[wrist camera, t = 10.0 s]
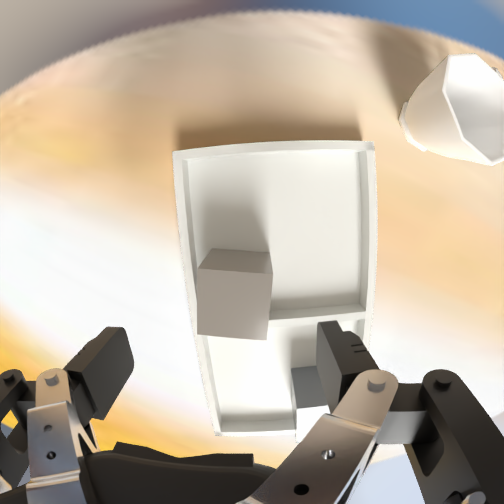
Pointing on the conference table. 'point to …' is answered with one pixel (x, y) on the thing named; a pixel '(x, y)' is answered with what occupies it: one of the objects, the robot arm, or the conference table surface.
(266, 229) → the divided tray
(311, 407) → the matte grey cube
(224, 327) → the stone
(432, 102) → the cup
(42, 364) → the conference table surface
